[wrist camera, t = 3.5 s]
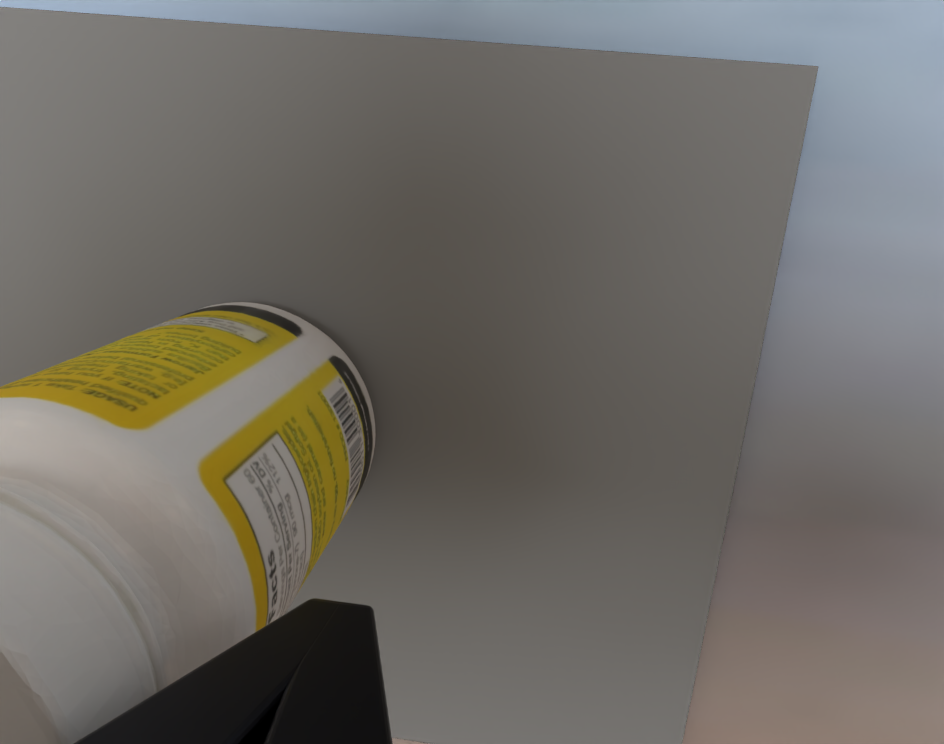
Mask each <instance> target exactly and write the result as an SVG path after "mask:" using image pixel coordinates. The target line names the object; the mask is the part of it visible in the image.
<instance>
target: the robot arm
mask: <svg viewBox="0 0 944 744" xmlns="http://www.w3.org/2000/svg"><path fill="white" fill-rule="evenodd" d="M73 744H392V737H391V729H390V722H389V715H388V708H387V701H386V694H385V687H384V679H383V672H382V665H381V658H380V651H379V644H378V637H377V630H376V622H375V615H374V610H373V608H372V607H371V606H369V605H363V604H355V603H347V602H340V601H332V600H325V599H318V598H312V599H309V600H307V601H305V602H304V603H302V604H300V605H299V606H297V607H296V608H294V609H292V610H291V611H289V612H287V613H286V614H284V615H282V616H281V617H279V618H278V619H276V620H274V621H273V622H271V623H269V624H268V625H266V626H264V627H263V628H261V629H260V630H258V631H256V632H255V633H253V634H251V635H250V636H248V637H247V638H245V639H243V640H242V641H240V642H238V643H237V644H235V645H233V646H232V647H230V648H229V649H227V650H225V651H224V652H222V653H220V654H219V655H217V656H215V657H214V658H212V659H211V660H209V661H207V662H206V663H204V664H202V665H201V666H199V667H198V668H196V669H194V670H193V671H191V672H189V673H188V674H186V675H184V676H183V677H181V678H180V679H178V680H176V681H175V682H173V683H171V684H170V685H168V686H166V687H165V688H163V689H162V690H160V691H158V692H157V693H155V694H153V695H152V696H150V697H149V698H147V699H145V700H144V701H142V702H140V703H139V704H137V705H135V706H134V707H132V708H131V709H129V710H127V711H126V712H124V713H122V714H121V715H119V716H117V717H116V718H114V719H113V720H111V721H109V722H108V723H106V724H104V725H103V726H101V727H100V728H98V729H96V730H95V731H93V732H91V733H90V734H88V735H86V736H85V737H83V738H82V739H80V740H78V741H77V742H75V743H73Z"/></svg>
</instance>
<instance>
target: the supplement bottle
mask: <svg viewBox="0 0 944 744" xmlns="http://www.w3.org/2000/svg"><path fill="white" fill-rule="evenodd" d="M375 437H376V433H375V419H374V413H373V408H372V404H371V400H370V397H369V394H368V391H367V388H366V386H365V384H364V382H363V380H362V378H361V376H360V374H359V372H358V371H357V369H356V367H355V366H354V364H353V363H352V361H351V360H350V359H349V358H348V356H347V355H346V354H345V352H344V351H343V350H342V349H341V348H340V347H339V346H338V345H337V344H336V343H335V342H334V341H333V340H332V339H331V338H330V337H328V336H327V335H326V334H325V333H323V332H322V331H321V330H319V329H318V328H316V327H315V326H313V325H312V324H310V323H308V322H307V321H305V320H303V319H301V318H300V317H298V316H296V315H293V314H291V313H289V312H287V311H284V310H281V309H278V308H275V307H272V306H269V305H264V304H258V303H250V302H231V303H222V304H216V305H211V306H207V307H204V308H201V309H198V310H195V311H192V312H189V313H186V314H184V315H181V316H179V317H177V318H174V319H172V320H169V321H166V322H164V323H161V324H159V325H156V326H153V327H151V328H148V329H146V330H143V331H141V332H138V333H136V334H133V335H130V336H127V337H125V338H122V339H120V340H118V341H115V342H113V343H110V344H108V345H105V346H103V347H100V348H98V349H95V350H93V351H90V352H87V353H85V354H82V355H80V356H78V357H75V358H73V359H70V360H67V361H65V362H62V363H60V364H57V365H55V366H52V367H50V368H47V369H45V370H42V371H40V372H37V373H35V374H32V375H30V376H27V377H24V378H22V379H19V380H17V381H14V382H11V383H9V384H6V385H4V386H1V387H0V744H73V743H75V742H77V741H78V740H80V739H82V738H83V737H85V736H86V735H88V734H90V733H91V732H93V731H95V730H96V729H98V728H100V727H101V726H103V725H104V724H106V723H108V722H109V721H111V720H113V719H114V718H116V717H117V716H119V715H121V714H122V713H124V712H126V711H127V710H129V709H131V708H132V707H134V706H135V705H137V704H139V703H140V702H142V701H144V700H145V699H147V698H149V697H150V696H152V695H153V694H155V693H157V692H158V691H160V690H162V689H163V688H165V687H166V686H168V685H170V684H171V683H173V682H175V681H176V680H178V679H180V678H181V677H183V676H184V675H186V674H188V673H189V672H191V671H193V670H194V669H196V668H198V667H199V666H201V665H202V664H204V663H206V662H207V661H209V660H211V659H212V658H214V657H215V656H217V655H219V654H220V653H222V652H224V651H225V650H227V649H229V648H230V647H232V646H233V645H235V644H237V643H238V642H240V641H242V640H243V639H245V638H247V637H248V636H250V635H251V634H253V633H255V632H256V631H258V630H260V629H261V628H263V627H264V626H266V625H268V624H269V623H271V622H273V621H274V620H276V619H278V618H279V617H281V616H282V615H284V614H285V613H286V611H287V610H288V608H289V606H290V605H291V603H292V602H293V600H294V598H295V597H296V595H297V593H298V592H299V590H300V588H301V587H302V585H303V583H304V582H305V580H306V579H307V577H308V575H309V574H310V572H311V570H312V569H313V567H314V565H315V564H316V562H317V561H318V559H319V557H320V556H321V554H322V552H323V551H324V549H325V548H326V546H327V544H328V543H329V541H330V539H331V538H332V536H333V535H334V533H335V531H336V530H337V528H338V526H339V525H340V523H341V521H342V520H343V518H344V516H345V515H346V513H347V511H348V510H349V508H350V506H351V504H352V503H353V501H354V500H355V498H356V497H357V496H358V494H359V492H360V490H361V488H362V486H363V484H364V482H365V480H366V478H367V475H368V473H369V470H370V467H371V463H372V459H373V455H374V448H375Z"/></svg>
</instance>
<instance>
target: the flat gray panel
mask: <svg viewBox="0 0 944 744" xmlns="http://www.w3.org/2000/svg"><path fill="white" fill-rule="evenodd" d="M817 71H818V66H807V65H793V64H779V63H765V62H751V61H738V60H724V59H710V58H696V57H683V56H669V55H655V54H641V53H628V52H614V51H600V50H586V49H572V48H559V47H545V46H531V45H517V44H504V43H490V42H476V41H462V40H448V39H435V38H421V37H407V36H393V35H380V34H366V33H352V32H338V31H325V30H311V29H297V28H283V27H269V26H256V25H242V24H228V23H214V22H201V21H187V20H173V19H159V18H145V17H132V16H118V15H104V14H90V13H77V12H63V11H49V10H35V9H21V8H8V7H0V387H1V386H4V385H6V384H9V383H11V382H14V381H17V380H19V379H22V378H24V377H27V376H30V375H32V374H35V373H37V372H40V371H42V370H45V369H47V368H50V367H52V366H55V365H57V364H60V363H62V362H65V361H67V360H70V359H73V358H75V357H78V356H80V355H82V354H85V353H87V352H90V351H93V350H95V349H98V348H100V347H103V346H105V345H108V344H110V343H113V342H115V341H118V340H120V339H122V338H125V337H127V336H130V335H133V334H136V333H138V332H141V331H143V330H146V329H148V328H151V327H153V326H156V325H159V324H161V323H164V322H166V321H169V320H172V319H174V318H177V317H179V316H181V315H184V314H186V313H189V312H192V311H195V310H198V309H201V308H204V307H207V306H211V305H216V304H222V303H231V302H250V303H258V304H264V305H269V306H272V307H275V308H278V309H281V310H284V311H287V312H289V313H291V314H293V315H296V316H298V317H300V318H301V319H303V320H305V321H307V322H308V323H310V324H312V325H313V326H315V327H316V328H318V329H319V330H321V331H322V332H323V333H325V334H326V335H327V336H328V337H330V338H331V339H332V340H333V341H334V342H335V343H336V344H337V345H338V346H339V347H340V348H341V349H342V350H343V351H344V352H345V354H346V355H347V356H348V358H349V359H350V360H351V361H352V363H353V364H354V366H355V367H356V369H357V371H358V372H359V374H360V376H361V378H362V380H363V382H364V384H365V386H366V388H367V391H368V394H369V397H370V400H371V404H372V408H373V413H374V419H375V433H376V437H375V448H374V455H373V459H372V463H371V467H370V470H369V473H368V475H367V478H366V480H365V482H364V484H363V486H362V488H361V490H360V492H359V494H358V496H357V497H356V498H355V500H354V501H353V503H352V504H351V506H350V508H349V510H348V511H347V513H346V515H345V516H344V518H343V520H342V521H341V523H340V525H339V526H338V528H337V530H336V531H335V533H334V535H333V536H332V538H331V539H330V541H329V543H328V544H327V546H326V548H325V549H324V551H323V552H322V554H321V556H320V557H319V559H318V561H317V562H316V564H315V565H314V567H313V569H312V570H311V572H310V574H309V575H308V577H307V579H306V580H305V582H304V583H303V585H302V587H301V588H300V590H299V592H298V593H297V595H296V597H295V598H294V600H293V602H292V603H291V605H290V606H289V608H288V610H287V611H286V613H287V612H289V611H291V610H292V609H294V608H296V607H297V606H299V605H300V604H302V603H304V602H305V601H307V600H309V599H312V598H318V599H325V600H332V601H340V602H347V603H355V604H363V605H369V606H371V607H372V608H373V610H374V615H375V622H376V630H377V637H378V644H379V651H380V658H381V665H382V672H383V679H384V687H385V694H386V701H387V708H388V715H389V722H390V729H391V737H392V738H397V739H404V740H410V741H417V742H423V743H430V744H682V742H683V737H684V732H685V727H686V722H687V717H688V712H689V707H690V702H691V697H692V692H693V687H694V682H695V677H696V672H697V667H698V662H699V657H700V652H701V647H702V643H703V638H704V633H705V628H706V623H707V618H708V613H709V608H710V603H711V598H712V593H713V588H714V583H715V578H716V573H717V568H718V563H719V558H720V553H721V548H722V543H723V538H724V533H725V528H726V523H727V518H728V513H729V508H730V503H731V498H732V493H733V488H734V484H735V479H736V474H737V469H738V464H739V459H740V454H741V449H742V444H743V439H744V434H745V429H746V424H747V419H748V414H749V409H750V404H751V399H752V394H753V389H754V384H755V379H756V374H757V369H758V364H759V359H760V354H761V349H762V344H763V339H764V334H765V329H766V324H767V320H768V315H769V310H770V305H771V300H772V295H773V290H774V285H775V280H776V275H777V270H778V265H779V260H780V255H781V250H782V245H783V240H784V235H785V230H786V225H787V220H788V215H789V210H790V205H791V200H792V195H793V190H794V185H795V180H796V175H797V170H798V165H799V160H800V156H801V151H802V146H803V141H804V136H805V131H806V126H807V121H808V116H809V111H810V106H811V101H812V96H813V91H814V86H815V81H816V76H817ZM286 613H285V614H286Z"/></svg>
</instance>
